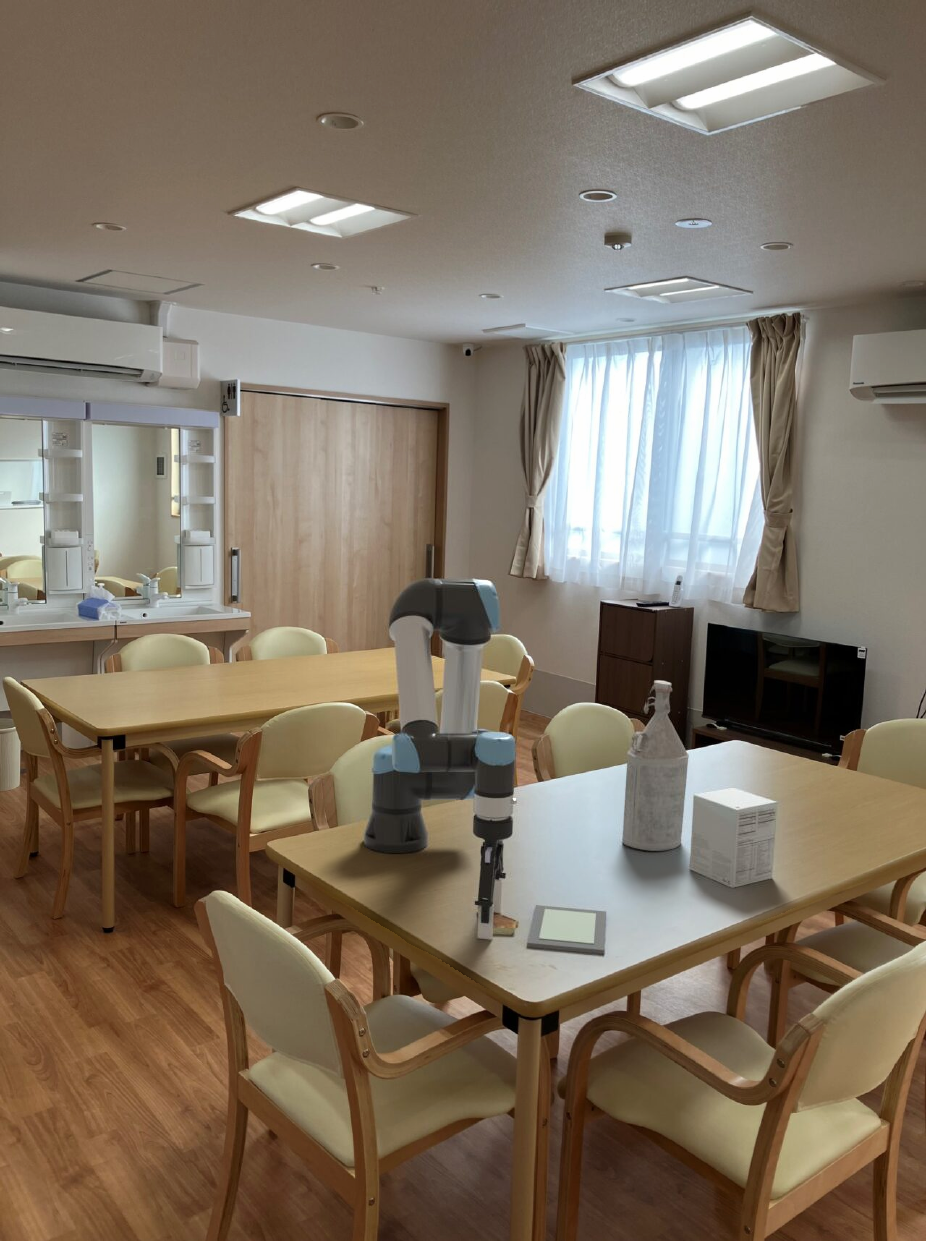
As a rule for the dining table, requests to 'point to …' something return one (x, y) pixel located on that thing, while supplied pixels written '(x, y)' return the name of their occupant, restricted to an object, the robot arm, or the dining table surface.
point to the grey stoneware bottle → (655, 781)
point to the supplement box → (733, 836)
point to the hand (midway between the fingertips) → (489, 924)
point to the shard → (503, 924)
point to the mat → (568, 929)
